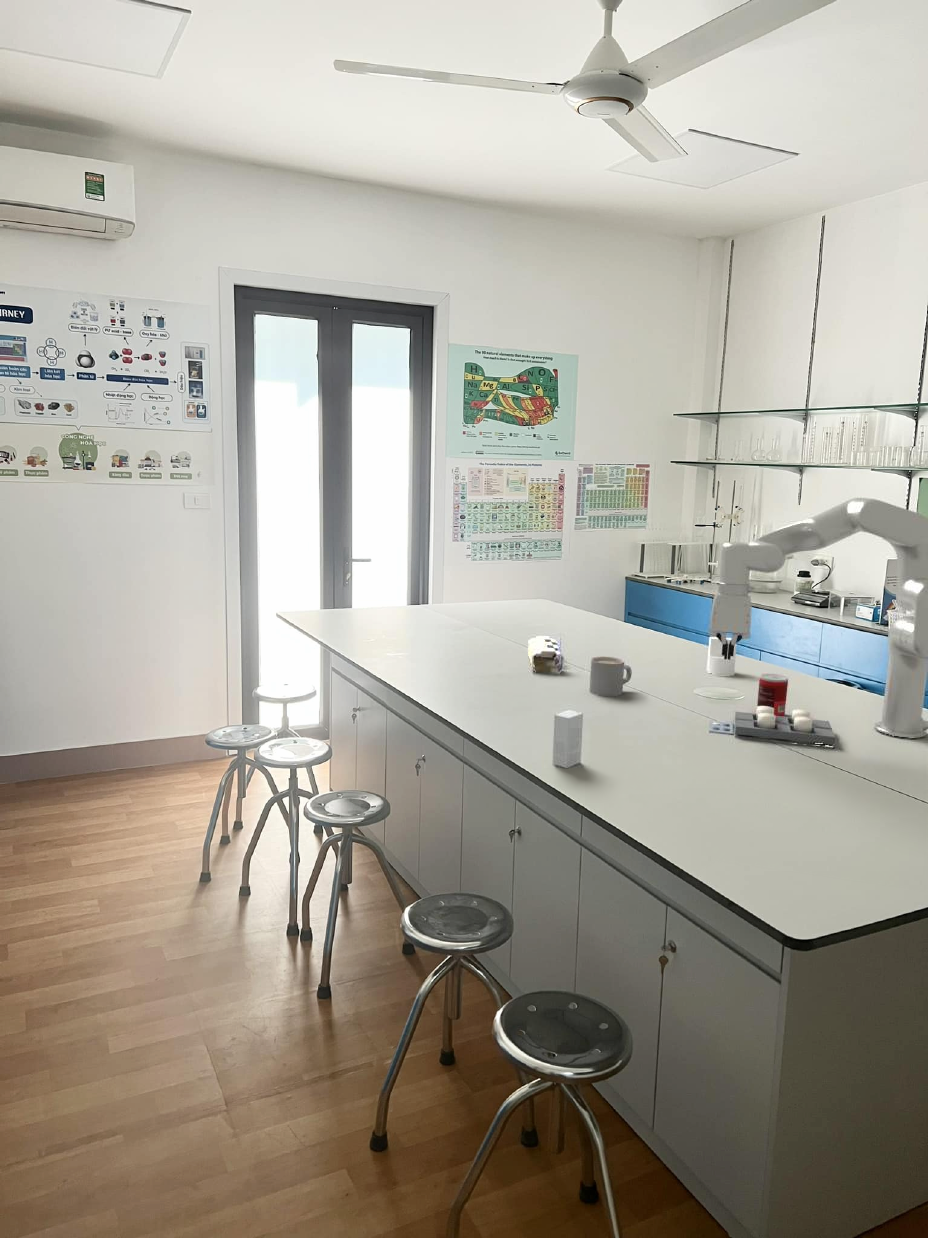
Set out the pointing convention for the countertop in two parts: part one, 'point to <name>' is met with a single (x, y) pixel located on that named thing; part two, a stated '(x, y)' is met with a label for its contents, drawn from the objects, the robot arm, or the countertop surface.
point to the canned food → (773, 692)
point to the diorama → (545, 650)
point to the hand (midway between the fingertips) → (727, 658)
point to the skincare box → (567, 738)
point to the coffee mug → (608, 676)
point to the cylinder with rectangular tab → (719, 658)
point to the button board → (776, 730)
